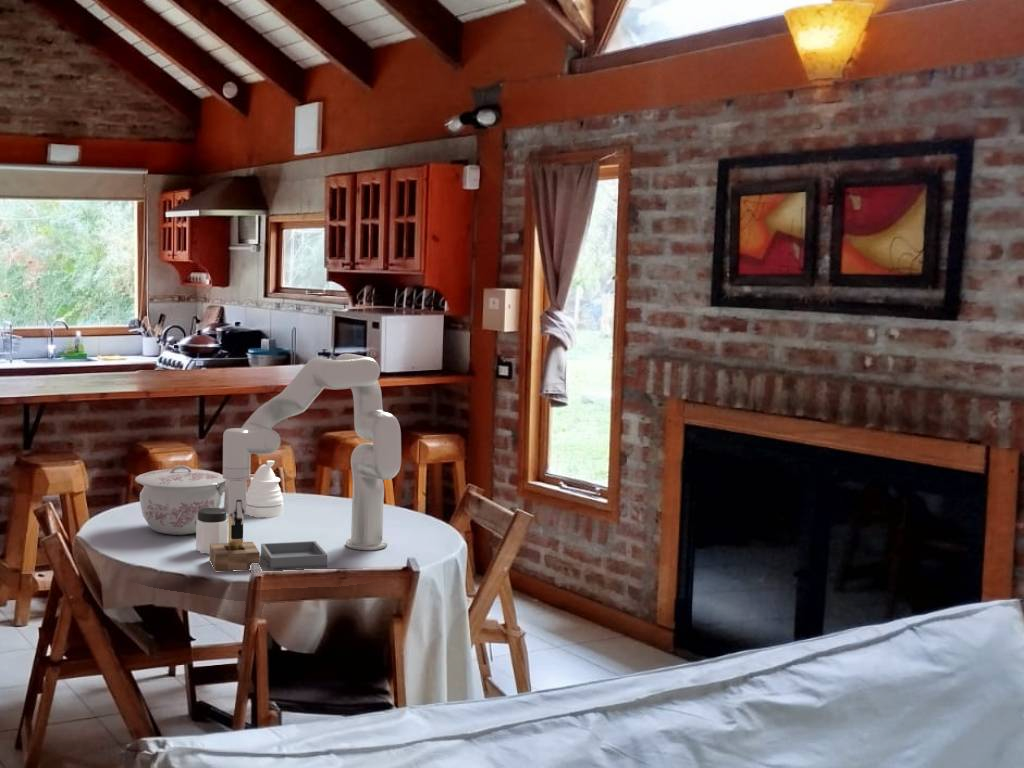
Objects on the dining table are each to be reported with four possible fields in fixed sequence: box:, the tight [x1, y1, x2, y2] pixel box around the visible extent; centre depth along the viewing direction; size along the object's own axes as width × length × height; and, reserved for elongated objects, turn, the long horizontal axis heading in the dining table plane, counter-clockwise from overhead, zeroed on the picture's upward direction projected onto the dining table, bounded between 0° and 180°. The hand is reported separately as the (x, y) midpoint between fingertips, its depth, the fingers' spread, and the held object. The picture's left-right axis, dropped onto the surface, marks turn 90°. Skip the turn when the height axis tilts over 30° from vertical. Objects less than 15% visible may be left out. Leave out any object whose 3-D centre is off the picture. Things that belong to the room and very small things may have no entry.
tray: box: [260, 540, 329, 571], centre depth 333 cm, size 16×16×4 cm
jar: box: [195, 507, 229, 554], centre depth 339 cm, size 9×8×12 cm
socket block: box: [209, 541, 261, 572], centre depth 325 cm, size 12×12×5 cm
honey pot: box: [244, 460, 284, 519], centre depth 389 cm, size 13×13×18 cm
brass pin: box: [227, 515, 244, 551], centre depth 325 cm, size 4×4×12 cm
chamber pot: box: [134, 464, 226, 536], centre depth 360 cm, size 28×28×21 cm
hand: (235, 535), depth 325 cm, fingers closed on brass pin, 4 cm apart
